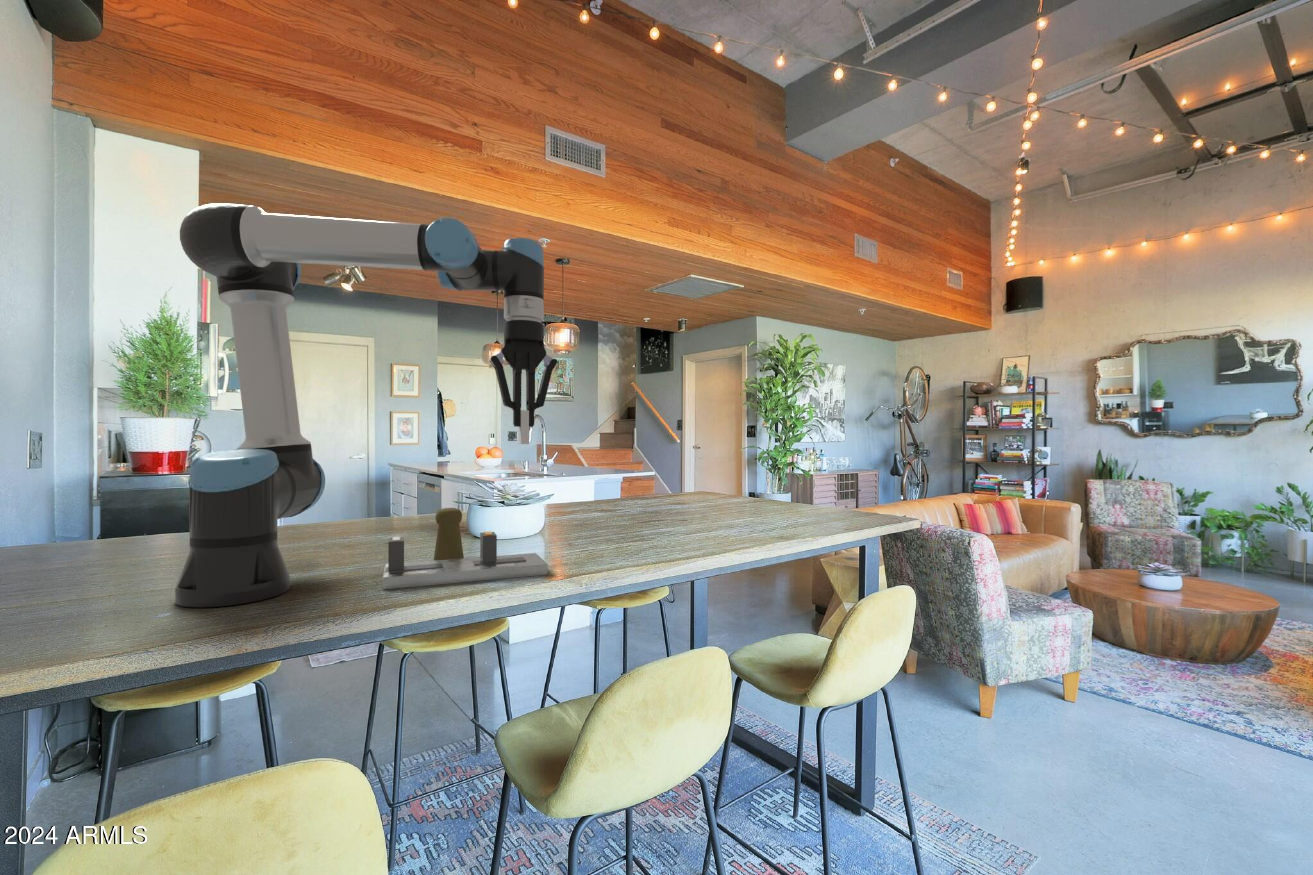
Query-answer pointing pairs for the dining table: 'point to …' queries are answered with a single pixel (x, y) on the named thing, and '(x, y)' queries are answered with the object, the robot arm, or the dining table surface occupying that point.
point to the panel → (463, 570)
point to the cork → (448, 535)
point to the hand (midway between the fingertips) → (523, 443)
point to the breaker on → (396, 553)
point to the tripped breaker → (488, 547)
